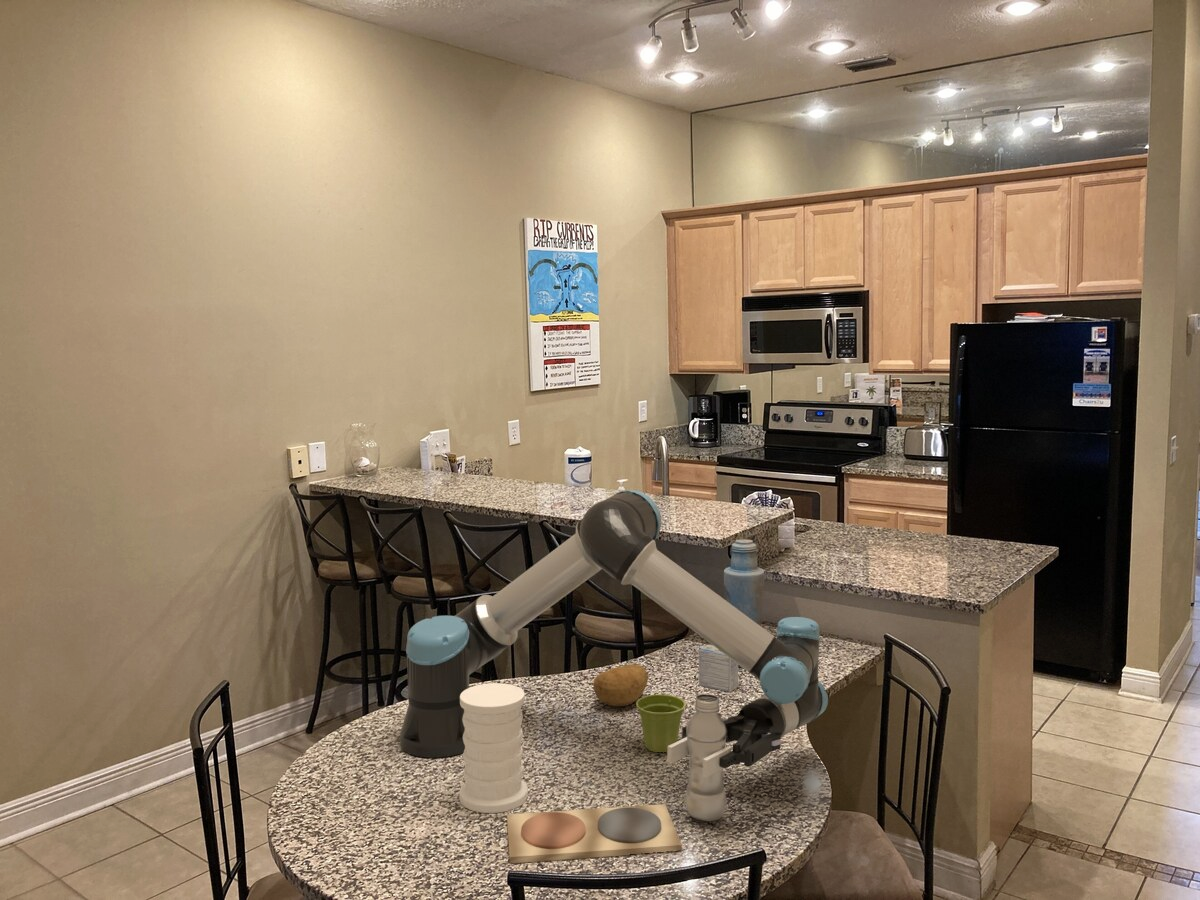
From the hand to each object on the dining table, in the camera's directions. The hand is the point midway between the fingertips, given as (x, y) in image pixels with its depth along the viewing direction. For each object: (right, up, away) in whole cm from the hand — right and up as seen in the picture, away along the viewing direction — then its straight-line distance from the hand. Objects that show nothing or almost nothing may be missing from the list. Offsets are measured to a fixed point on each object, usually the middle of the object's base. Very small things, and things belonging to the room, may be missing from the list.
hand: (686, 761), depth 149 cm
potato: (-9, -6, +54) cm, 56 cm away
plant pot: (-2, -8, +32) cm, 33 cm away
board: (-15, -11, 0) cm, 19 cm away
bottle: (+21, -3, +80) cm, 83 cm away
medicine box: (+13, -4, +64) cm, 66 cm away
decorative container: (-32, -10, +12) cm, 36 cm away
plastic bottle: (+3, -11, +5) cm, 12 cm away
